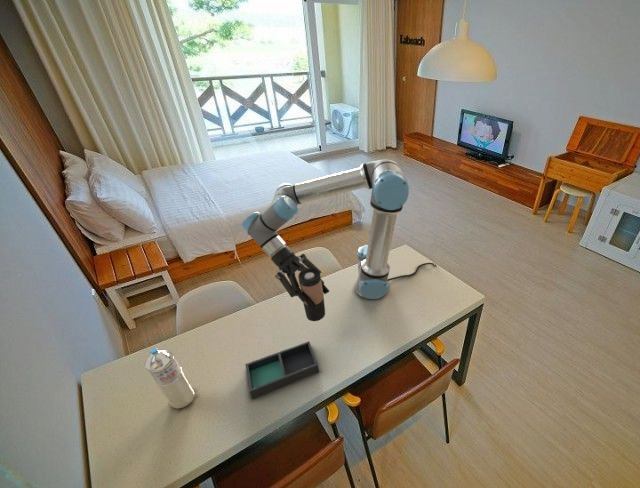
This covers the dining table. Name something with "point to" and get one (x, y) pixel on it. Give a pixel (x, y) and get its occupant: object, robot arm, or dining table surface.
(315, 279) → the travel mug
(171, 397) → the water bottle
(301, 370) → the divided organizer tray
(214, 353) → the dining table surface
